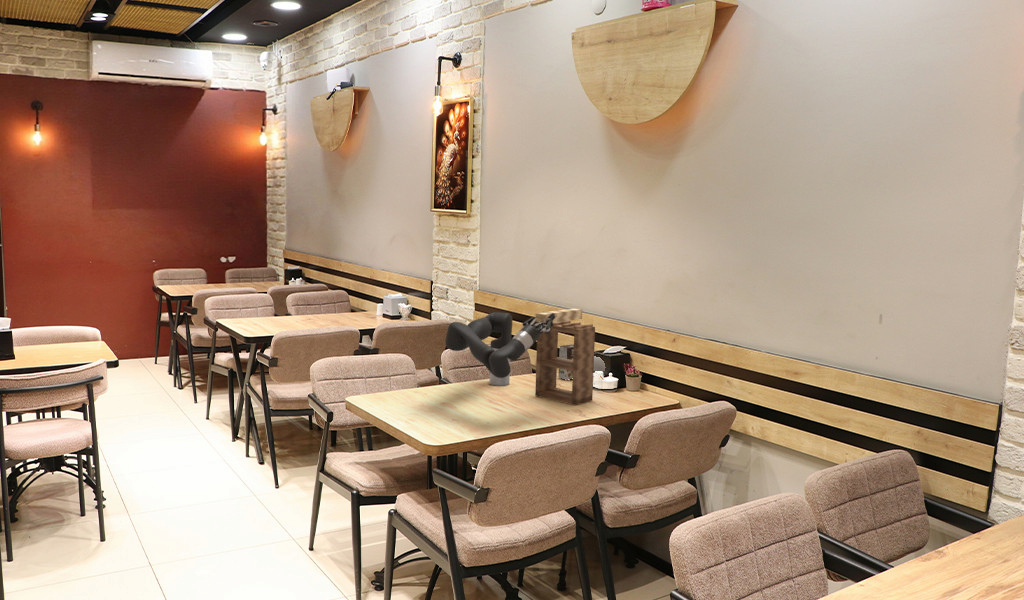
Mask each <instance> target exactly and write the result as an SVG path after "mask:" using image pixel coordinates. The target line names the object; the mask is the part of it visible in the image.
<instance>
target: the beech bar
mask: <svg viewBox="0 0 1024 600" xmlns="http://www.w3.org/2000/svg"><path fill="white" fill-rule="evenodd" d="M542 312H543V313H542ZM542 312H537V313H535V316H534V317H535V319H536V322H541V321H542V320H545V319H547V318H548V317H549V316H550V315H551V314H552V313H554V315H555V319H553V321H552V322H553V323H557V322H564V321H576V320H577V321H578V320H582V319H583V309H582V308H568V309H559V310H553V311H542ZM547 323H548V322H546V324H547ZM543 325H544V324H543Z"/></svg>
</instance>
